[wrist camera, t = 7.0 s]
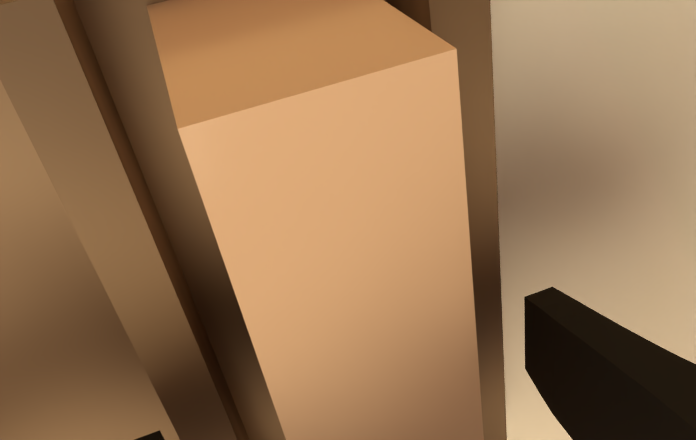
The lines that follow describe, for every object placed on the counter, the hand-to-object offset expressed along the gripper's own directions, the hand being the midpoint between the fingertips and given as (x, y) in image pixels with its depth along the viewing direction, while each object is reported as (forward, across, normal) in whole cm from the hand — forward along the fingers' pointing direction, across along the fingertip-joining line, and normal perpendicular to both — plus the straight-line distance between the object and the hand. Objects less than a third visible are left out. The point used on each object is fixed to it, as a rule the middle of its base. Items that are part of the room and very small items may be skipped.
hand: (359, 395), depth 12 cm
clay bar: (+3, 0, 0) cm, 3 cm away
